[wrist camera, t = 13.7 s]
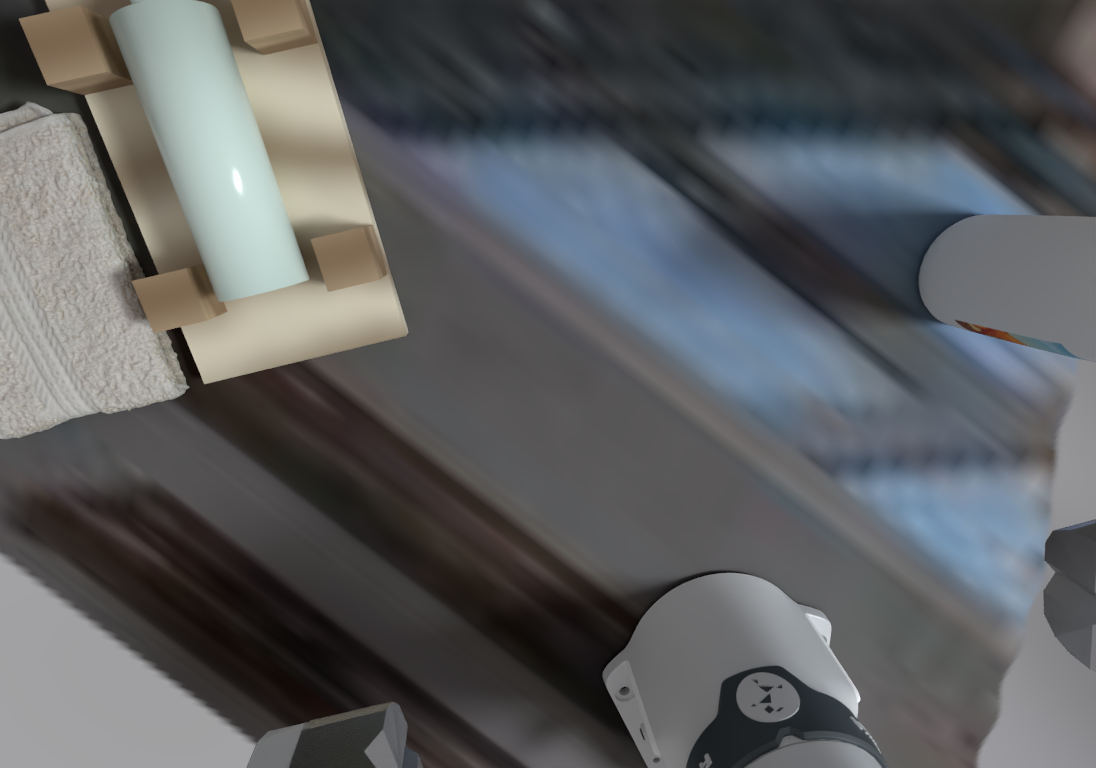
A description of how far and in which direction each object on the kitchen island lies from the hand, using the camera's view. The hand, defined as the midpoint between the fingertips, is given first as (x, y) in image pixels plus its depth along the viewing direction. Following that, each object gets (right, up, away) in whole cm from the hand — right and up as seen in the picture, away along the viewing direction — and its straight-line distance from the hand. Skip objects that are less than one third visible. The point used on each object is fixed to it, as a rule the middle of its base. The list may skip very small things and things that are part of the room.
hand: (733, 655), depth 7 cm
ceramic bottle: (-21, +18, +27) cm, 38 cm away
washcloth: (-33, +10, +30) cm, 46 cm away
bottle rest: (-20, +16, +29) cm, 39 cm away
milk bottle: (+27, +11, +36) cm, 46 cm away
